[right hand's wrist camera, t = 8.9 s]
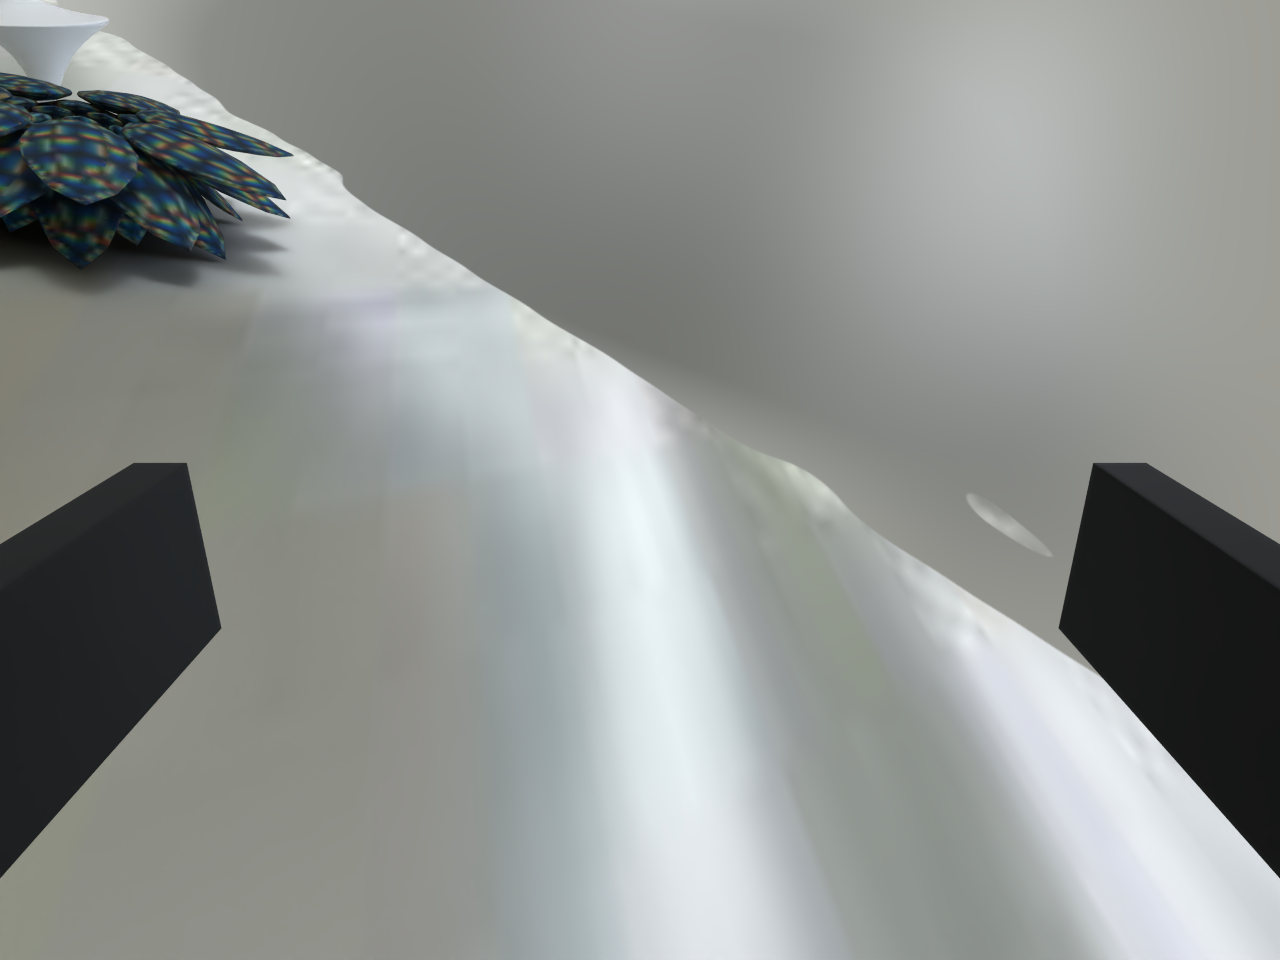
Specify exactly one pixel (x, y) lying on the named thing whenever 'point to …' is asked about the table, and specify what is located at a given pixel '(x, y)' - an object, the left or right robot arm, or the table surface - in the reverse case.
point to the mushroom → (44, 36)
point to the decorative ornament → (119, 169)
